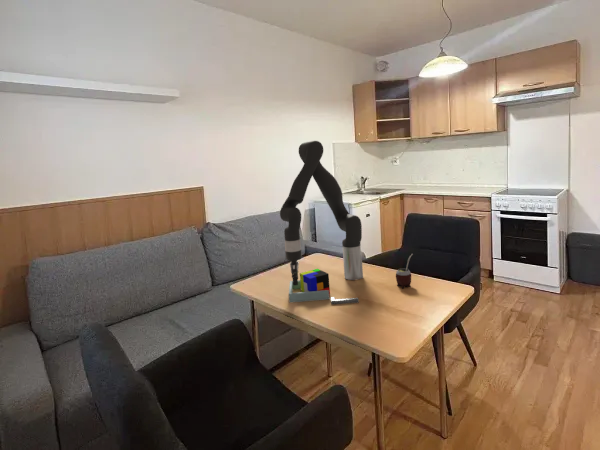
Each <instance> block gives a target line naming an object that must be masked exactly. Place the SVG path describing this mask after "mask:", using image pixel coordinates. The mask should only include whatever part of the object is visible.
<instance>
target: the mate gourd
mask: <svg viewBox="0 0 600 450" xmlns="http://www.w3.org/2000/svg"><path fill="white" fill-rule="evenodd" d="M413 255H414V254H413V253H411V255H409V257H408V259H407V263H406V268H398V269H397V270H396V273H395V280H396V286H397V287H401V289H405V288H411V287H412V286H411V283H412V272H411V271H410V269H409V268H408V267H409V262H410V260H411V257H412V256H413Z"/></svg>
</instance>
